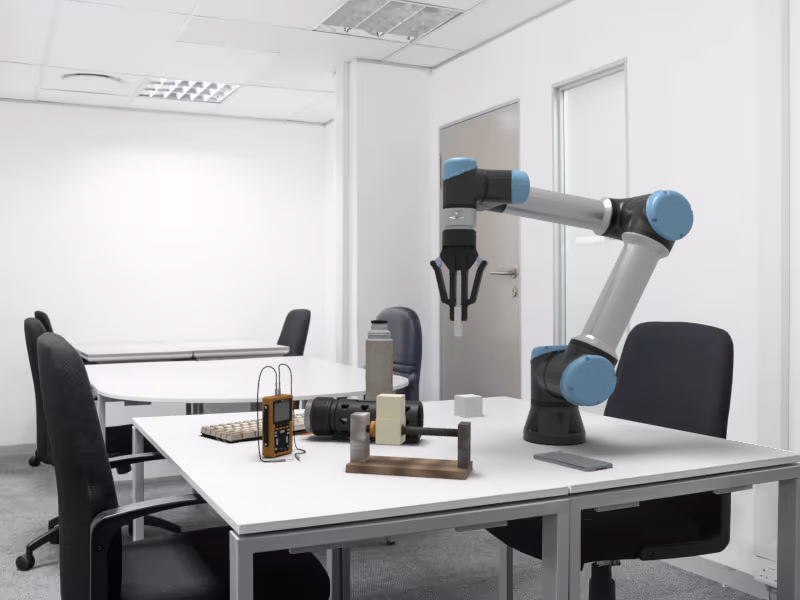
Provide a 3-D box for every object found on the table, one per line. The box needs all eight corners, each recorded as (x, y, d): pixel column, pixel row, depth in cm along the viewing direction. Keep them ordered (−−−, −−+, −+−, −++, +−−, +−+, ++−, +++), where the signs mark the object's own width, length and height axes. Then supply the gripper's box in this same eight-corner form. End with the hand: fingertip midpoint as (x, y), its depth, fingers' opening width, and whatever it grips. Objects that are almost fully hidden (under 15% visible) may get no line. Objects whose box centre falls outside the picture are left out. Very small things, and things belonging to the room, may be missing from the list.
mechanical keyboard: (236, 448, 182) (236, 434, 182) (194, 438, 196) (194, 424, 196) (357, 430, 209) (357, 417, 209) (313, 422, 222) (313, 410, 222)
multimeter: (286, 466, 161) (286, 369, 161) (249, 460, 167) (250, 366, 167) (329, 453, 174) (329, 363, 174) (294, 448, 179) (294, 361, 179)
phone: (586, 474, 158) (586, 468, 158) (531, 460, 171) (531, 454, 171) (614, 469, 162) (614, 463, 162) (558, 456, 175) (558, 450, 175)
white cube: (454, 415, 231) (454, 395, 231) (471, 414, 234) (471, 394, 234) (464, 418, 226) (464, 397, 226) (482, 416, 228) (482, 396, 228)
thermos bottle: (392, 414, 232) (393, 319, 232) (392, 418, 224) (392, 320, 224) (365, 414, 232) (366, 319, 232) (364, 418, 224) (365, 320, 224)
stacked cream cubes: (405, 440, 161) (405, 394, 161) (399, 444, 156) (400, 397, 156) (381, 439, 162) (382, 393, 162) (375, 443, 157) (375, 396, 157)
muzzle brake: (416, 447, 183) (417, 402, 183) (302, 441, 189) (302, 398, 188) (423, 439, 192) (424, 397, 192) (314, 434, 198) (314, 394, 198)
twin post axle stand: (472, 468, 160) (472, 414, 160) (465, 479, 150) (465, 422, 150) (359, 461, 166) (360, 409, 166) (345, 472, 156) (346, 417, 156)
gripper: (426, 228, 170) (426, 336, 171) (486, 227, 167) (485, 337, 168) (433, 230, 178) (432, 334, 178) (490, 230, 175) (490, 335, 175)
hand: (458, 335), depth 173 cm, fingers closed
